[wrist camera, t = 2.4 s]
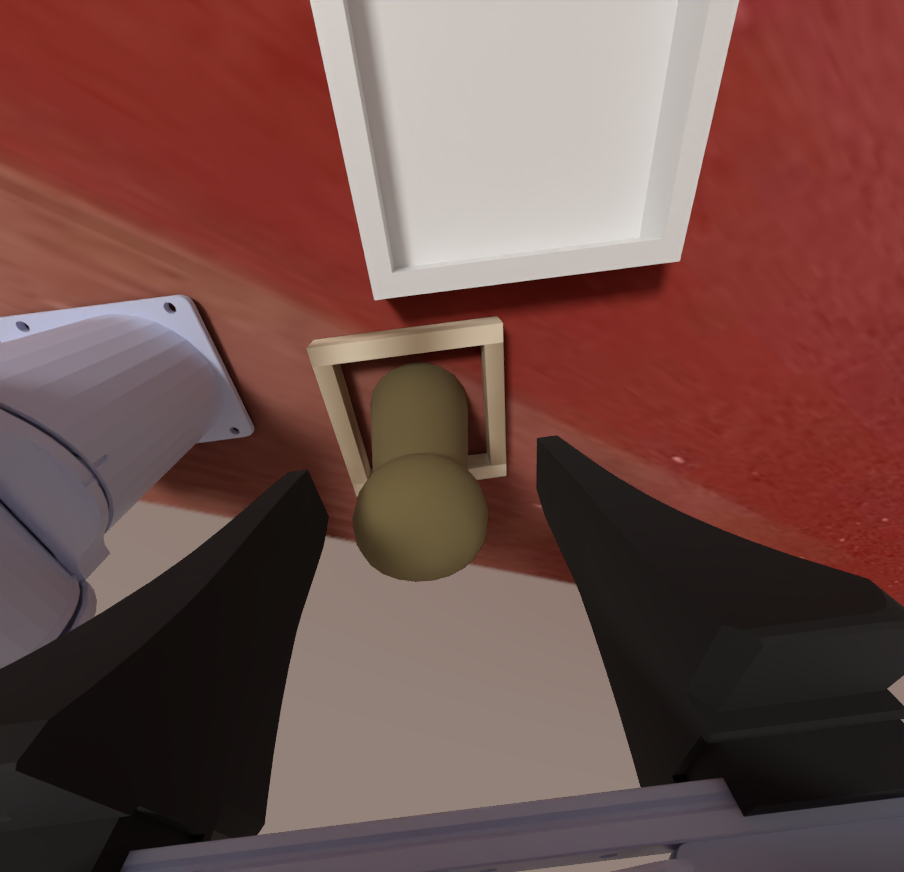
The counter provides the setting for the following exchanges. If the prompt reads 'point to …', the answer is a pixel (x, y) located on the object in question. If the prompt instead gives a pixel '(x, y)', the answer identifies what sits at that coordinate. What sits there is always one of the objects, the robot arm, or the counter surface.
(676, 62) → the tray
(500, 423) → the collar
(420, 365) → the cork
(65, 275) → the counter surface
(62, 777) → the robot arm
